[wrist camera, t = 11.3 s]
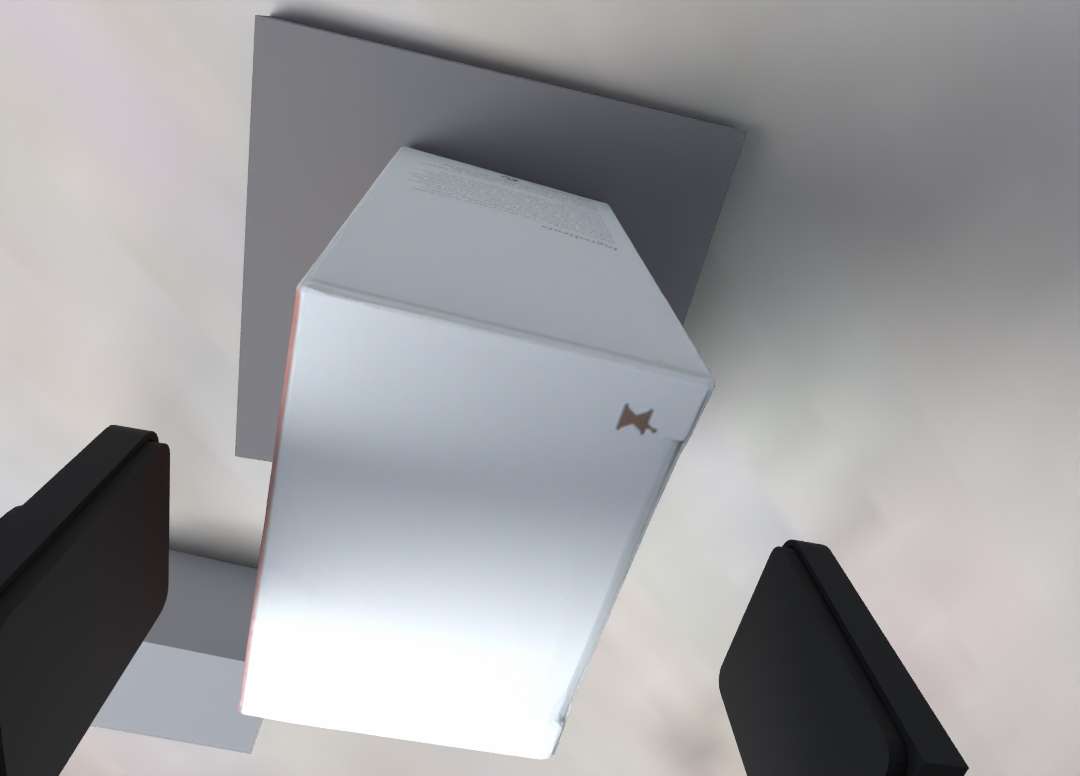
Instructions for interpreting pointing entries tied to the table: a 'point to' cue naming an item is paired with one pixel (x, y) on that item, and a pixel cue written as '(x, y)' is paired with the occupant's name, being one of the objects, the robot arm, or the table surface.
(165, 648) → the light grey rectangular block
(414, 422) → the small box
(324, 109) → the charcoal mat
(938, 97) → the table surface
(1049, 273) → the table surface
